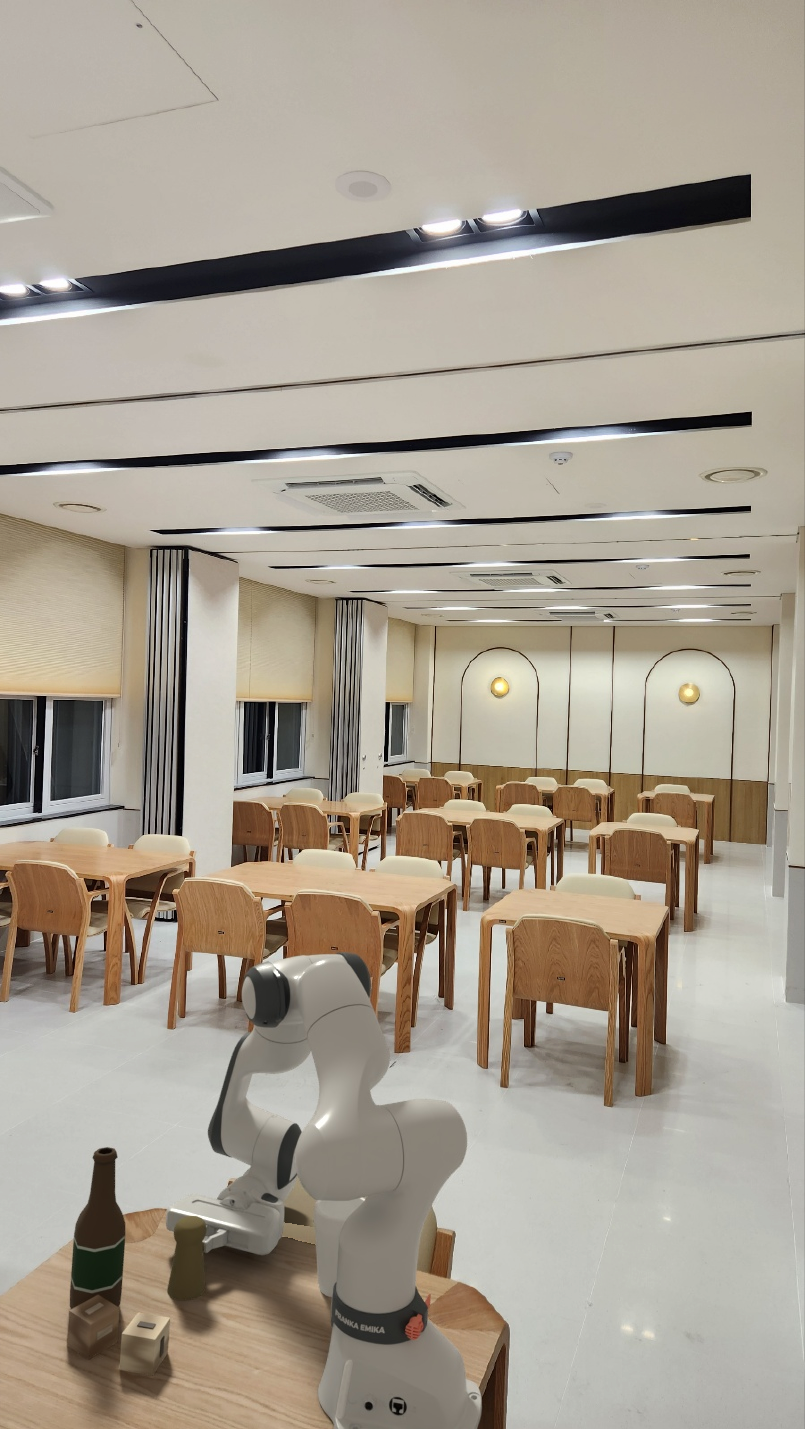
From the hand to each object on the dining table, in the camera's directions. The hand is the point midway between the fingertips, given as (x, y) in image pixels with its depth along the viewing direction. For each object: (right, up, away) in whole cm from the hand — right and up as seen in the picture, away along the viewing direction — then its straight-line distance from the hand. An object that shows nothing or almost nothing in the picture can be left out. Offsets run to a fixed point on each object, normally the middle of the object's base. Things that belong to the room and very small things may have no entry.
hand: (198, 1246), depth 149 cm
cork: (-1, -5, -3) cm, 6 cm away
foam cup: (+23, -7, 0) cm, 24 cm away
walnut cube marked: (-12, -4, -17) cm, 21 cm away
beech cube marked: (-3, -5, -20) cm, 21 cm away
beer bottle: (-14, -4, -9) cm, 17 cm away
